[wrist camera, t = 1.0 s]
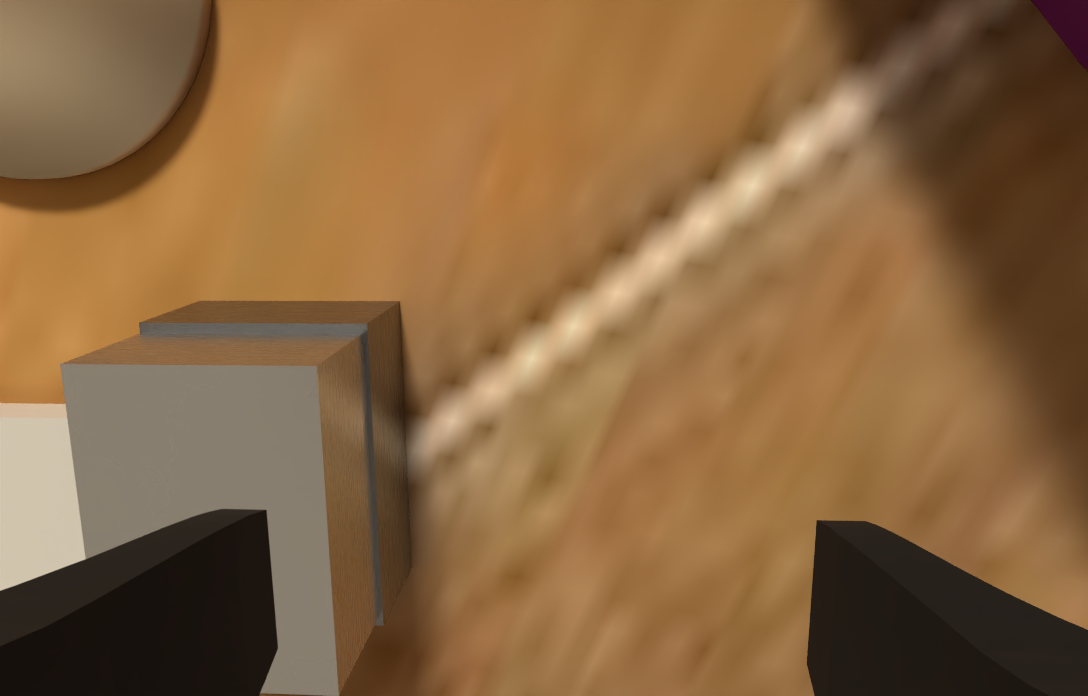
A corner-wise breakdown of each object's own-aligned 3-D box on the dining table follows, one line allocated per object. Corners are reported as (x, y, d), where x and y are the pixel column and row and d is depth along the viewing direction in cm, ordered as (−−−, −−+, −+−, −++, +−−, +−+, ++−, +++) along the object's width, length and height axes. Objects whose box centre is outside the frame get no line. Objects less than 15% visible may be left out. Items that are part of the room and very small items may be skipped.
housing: (412, 566, 23) (344, 705, 17) (226, 561, 24) (99, 696, 18) (400, 300, 22) (321, 355, 16) (201, 300, 22) (54, 352, 16)
